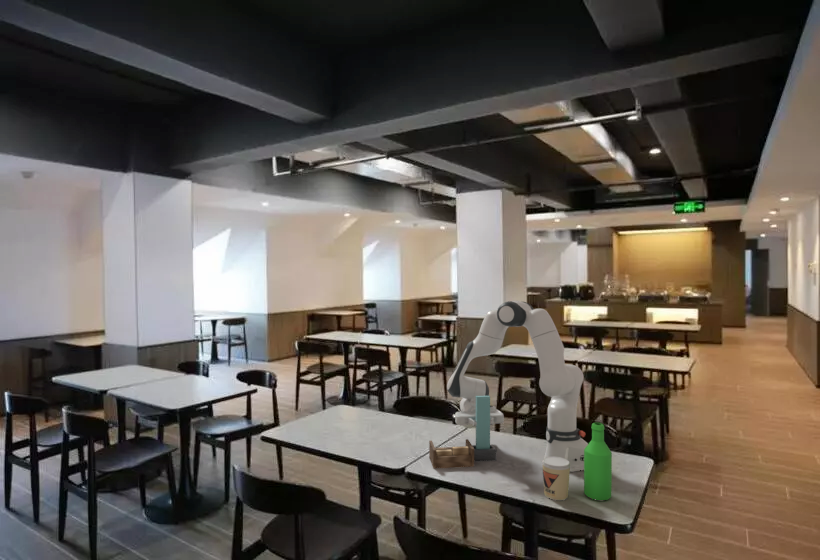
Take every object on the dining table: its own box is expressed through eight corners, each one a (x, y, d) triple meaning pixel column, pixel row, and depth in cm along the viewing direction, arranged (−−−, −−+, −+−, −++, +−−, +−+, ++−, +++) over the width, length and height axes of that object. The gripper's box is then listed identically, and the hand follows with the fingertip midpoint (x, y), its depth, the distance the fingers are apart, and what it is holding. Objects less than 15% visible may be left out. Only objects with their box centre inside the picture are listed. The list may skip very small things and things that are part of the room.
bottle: (586, 488, 174) (587, 418, 174) (613, 494, 170) (613, 422, 170) (581, 498, 167) (582, 425, 166) (608, 504, 162) (609, 429, 162)
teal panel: (488, 454, 200) (488, 395, 200) (490, 455, 198) (490, 396, 198) (475, 454, 200) (475, 395, 199) (476, 456, 198) (476, 397, 197)
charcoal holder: (492, 459, 202) (492, 444, 202) (496, 464, 197) (496, 449, 197) (469, 459, 201) (469, 445, 201) (473, 465, 196) (473, 450, 196)
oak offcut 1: (451, 463, 194) (451, 449, 194) (451, 464, 192) (451, 451, 192) (436, 463, 193) (436, 449, 193) (436, 465, 191) (436, 451, 191)
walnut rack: (467, 459, 201) (467, 439, 201) (474, 470, 190) (474, 448, 190) (429, 461, 200) (429, 440, 200) (433, 472, 189) (433, 450, 189)
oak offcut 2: (467, 462, 195) (467, 446, 194) (468, 464, 193) (468, 447, 193) (452, 463, 194) (452, 446, 194) (453, 464, 192) (453, 448, 192)
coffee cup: (536, 492, 171) (536, 458, 171) (557, 487, 175) (557, 454, 175) (554, 504, 163) (554, 468, 162) (576, 498, 167) (576, 463, 166)
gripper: (451, 407, 210) (458, 416, 197) (498, 405, 213) (507, 414, 199) (451, 421, 211) (458, 432, 197) (498, 420, 213) (507, 430, 199)
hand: (483, 423), depth 198 cm, fingers closed on teal panel, 5 cm apart
